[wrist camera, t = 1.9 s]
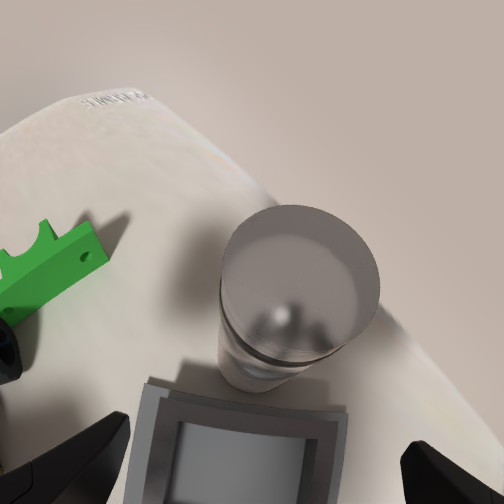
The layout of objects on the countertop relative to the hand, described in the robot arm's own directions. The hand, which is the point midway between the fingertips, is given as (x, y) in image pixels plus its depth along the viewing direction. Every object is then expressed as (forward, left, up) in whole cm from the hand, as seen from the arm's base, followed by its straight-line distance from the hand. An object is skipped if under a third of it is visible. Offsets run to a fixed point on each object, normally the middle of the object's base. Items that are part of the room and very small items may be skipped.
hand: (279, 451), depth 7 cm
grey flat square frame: (-1, -4, -12) cm, 13 cm away
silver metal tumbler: (+2, +5, -12) cm, 13 cm away
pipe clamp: (-14, +13, -12) cm, 23 cm away
